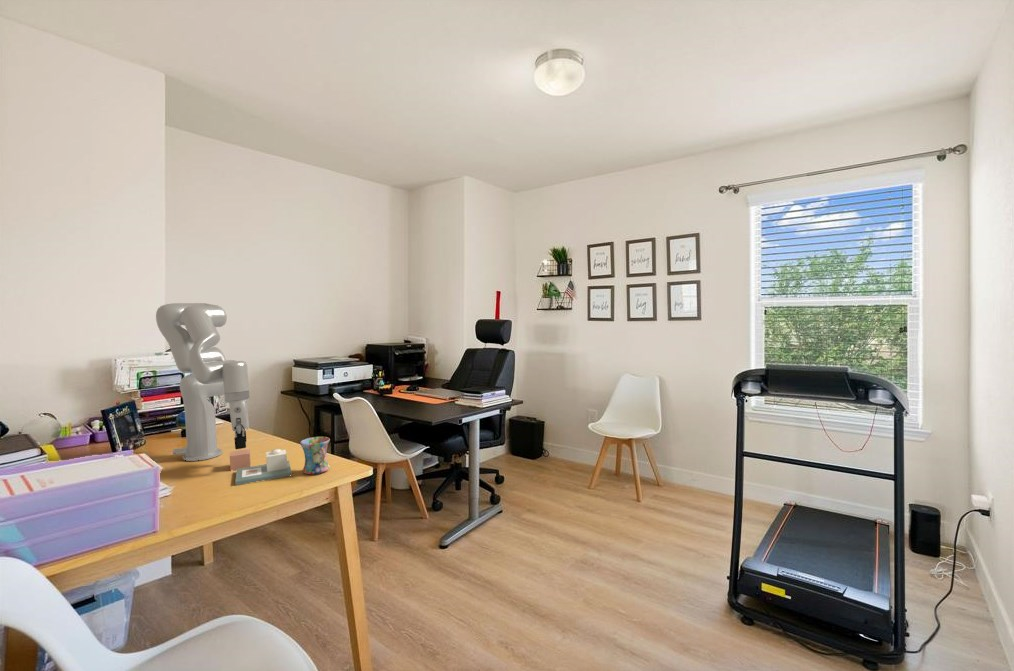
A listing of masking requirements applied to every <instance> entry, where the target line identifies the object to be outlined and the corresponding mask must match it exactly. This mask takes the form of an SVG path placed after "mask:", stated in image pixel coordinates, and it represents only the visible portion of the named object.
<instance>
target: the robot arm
mask: <svg viewBox="0 0 1014 671" xmlns="http://www.w3.org/2000/svg"><path fill="white" fill-rule="evenodd" d="M155 320H156V324H157V327H158V330H159V331H160V333H161V335H162V336H163V338H164V339H165V340H166V342H167V343H168V346H169V348H170V352H171V354H172V357H173V360H174V363H175V364H176V367H177V369H178V371H179V372H181V373H184V374H187V375H185V376H183V377H182V378H181V380H180V381H179V390H180V394H181V397H182V401H183V408H184V420H185V438H186V446H183V447H182V448H173V449H172V455H176V456H178V455H182V460H183V461H185V460H186V461H185V462H197V461H198V460H199V461H204V460H210V459H213V458H216V457H219V456H220V455H222V454H223V450H222V449H221V448H218V442H217V441H218V440H217V439H218V438H217V423H216V410H215V405H213V404H212V402H211V401H210V400H208V398H211V397H215V396H222V395H224V396H223V397H224V403H226V404H227V403H228V406H229V416H230V423H231V430H232V431H233V432H234V448H235V450H242V449H246V448H247V431H246V430H249V427H250V421H249V410H248V402H247V401H249V400H250V398H251V397H250V387H249V385H250V384H249V374H248V373H249V372H248V364H247V362H246V361H244V360H234V359H226V357H225V354H224V353H223V351H222V350H221V349H220V348H218V347H217V346H216V345H218V343H220V340H221V336H220V333H219V331H218V329H217V328H222V327H223V326H224V325H226V323H227V314H226V310H225V309H223V307H222V306H219V305H218V304H217V305H216V304H210V303H202V302H200V303H199V302H198V303H197V302H193V303H192V302H187V303H186V302H178V303H177V302H174V303H165V304H163V305H160V306H159V307H158V308H157V310H156V312H155ZM183 326H185V328H186V329H185V328H183ZM199 461H198V462H199Z"/></svg>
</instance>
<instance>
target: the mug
mask: <svg viewBox="0 0 1014 671" xmlns="http://www.w3.org/2000/svg"><path fill="white" fill-rule="evenodd" d="M330 441H331V439H330V437H327V436H314V437H308V438H305V439H302V440H300V442H299V444H300V446H301V448H302V450H303V454H304V466H303V469H302V472H303V473H304V474H307V475H317V474H322V473H325V472H326V471H329V470H330V468H331V467H330V466H331V465H329V464H330V463H329V462H328V459H327V453H328V452H327V451H328V446H329V443H330Z"/></svg>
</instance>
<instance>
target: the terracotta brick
mask: <svg viewBox="0 0 1014 671" xmlns="http://www.w3.org/2000/svg"><path fill="white" fill-rule="evenodd" d="M229 464H230V465H229V467H230V471H231V470H233V471H237V470H236V469H239V468H245V467H251V466H250V465H252V464H251V449H250V448H249V449H243V450H242V449H239V450H235V451H233V450H232V451H230V453H229Z"/></svg>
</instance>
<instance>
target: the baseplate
mask: <svg viewBox="0 0 1014 671" xmlns="http://www.w3.org/2000/svg"><path fill="white" fill-rule="evenodd" d="M265 455H266V456H265V458H266V461H265V462H266V464H260V465H259V464H258V465H252V466H250V467H245V468H239V469H237V470H236V473H235V486H240V484H242V485H246V484H245V483H248V484H251V483H250V482H254V483H257V482H256V481H259V482H263V481H262V480H265V481H269V480H268V479H271V480H275V479H274V478H277V479H281V478H280V477H283V478H286V477H285V476H289V477H291V476H290V475H292V474H293V472H292V469H291V464H290V461H289V460H288V458H287V449H280V448H275V449H272V450H271V451H266V452H265Z"/></svg>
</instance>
